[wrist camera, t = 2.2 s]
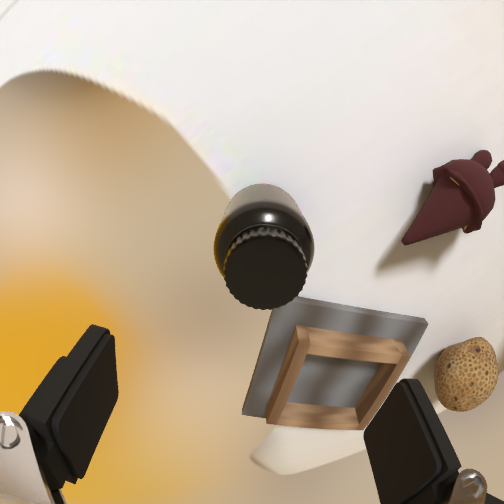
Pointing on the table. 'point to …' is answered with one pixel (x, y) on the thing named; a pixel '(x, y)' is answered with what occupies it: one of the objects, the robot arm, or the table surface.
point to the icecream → (458, 198)
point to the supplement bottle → (264, 247)
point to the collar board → (329, 364)
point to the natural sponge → (466, 374)
